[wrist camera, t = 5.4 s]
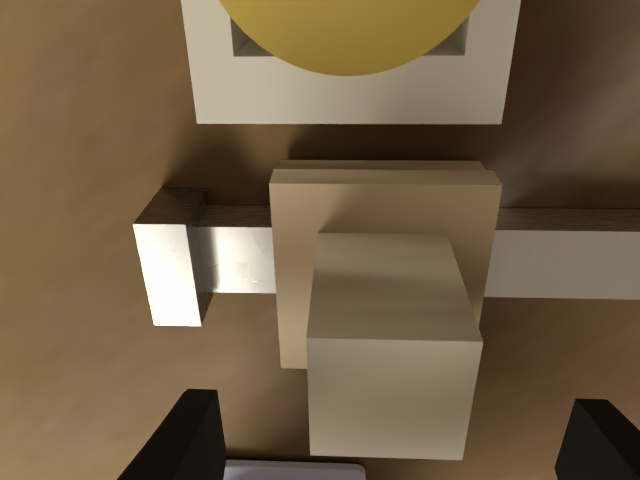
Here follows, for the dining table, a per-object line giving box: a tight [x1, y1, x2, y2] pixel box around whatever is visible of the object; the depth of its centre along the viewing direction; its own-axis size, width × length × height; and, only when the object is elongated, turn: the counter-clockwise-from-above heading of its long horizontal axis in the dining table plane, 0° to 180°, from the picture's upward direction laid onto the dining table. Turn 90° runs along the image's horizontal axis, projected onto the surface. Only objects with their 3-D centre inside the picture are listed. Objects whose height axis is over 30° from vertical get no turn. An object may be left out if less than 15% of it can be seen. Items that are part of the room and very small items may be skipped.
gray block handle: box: [133, 188, 640, 326], centre depth 16 cm, size 4×20×2 cm, turn 91°
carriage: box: [269, 160, 503, 460], centre depth 14 cm, size 6×6×7 cm
